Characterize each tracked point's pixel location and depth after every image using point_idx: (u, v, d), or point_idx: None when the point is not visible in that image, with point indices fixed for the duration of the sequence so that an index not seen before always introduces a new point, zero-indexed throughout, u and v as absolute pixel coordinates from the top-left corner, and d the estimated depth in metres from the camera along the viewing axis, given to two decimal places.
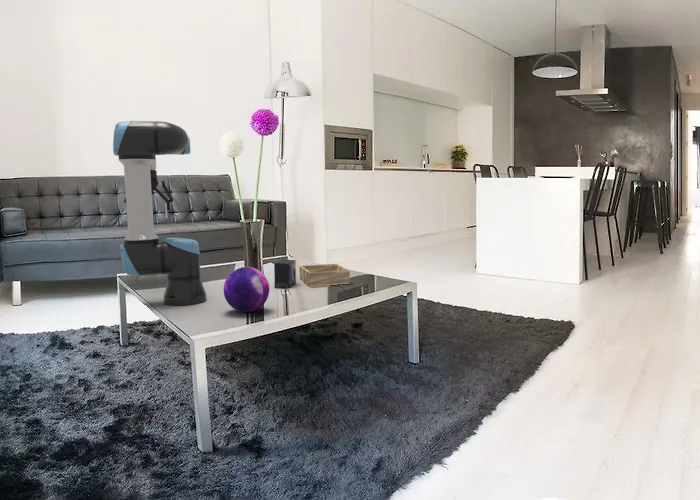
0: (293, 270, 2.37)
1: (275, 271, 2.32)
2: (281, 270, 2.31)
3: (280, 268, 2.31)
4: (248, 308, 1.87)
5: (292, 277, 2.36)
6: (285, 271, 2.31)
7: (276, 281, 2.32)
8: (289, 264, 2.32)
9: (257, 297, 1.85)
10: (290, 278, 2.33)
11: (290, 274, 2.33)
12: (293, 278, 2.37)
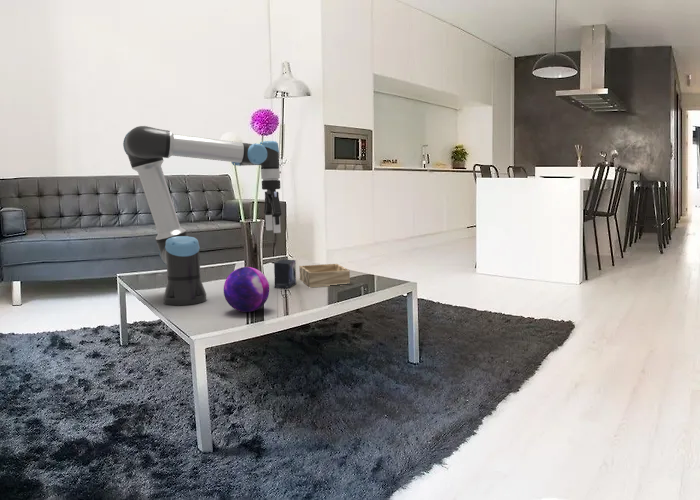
0: (293, 270, 2.37)
1: (275, 271, 2.32)
2: (281, 270, 2.31)
3: (280, 268, 2.31)
4: (248, 308, 1.87)
5: (292, 277, 2.36)
6: (285, 271, 2.31)
7: (276, 281, 2.32)
8: (289, 264, 2.32)
9: (257, 297, 1.85)
10: (290, 278, 2.33)
11: (290, 274, 2.33)
12: (293, 278, 2.37)
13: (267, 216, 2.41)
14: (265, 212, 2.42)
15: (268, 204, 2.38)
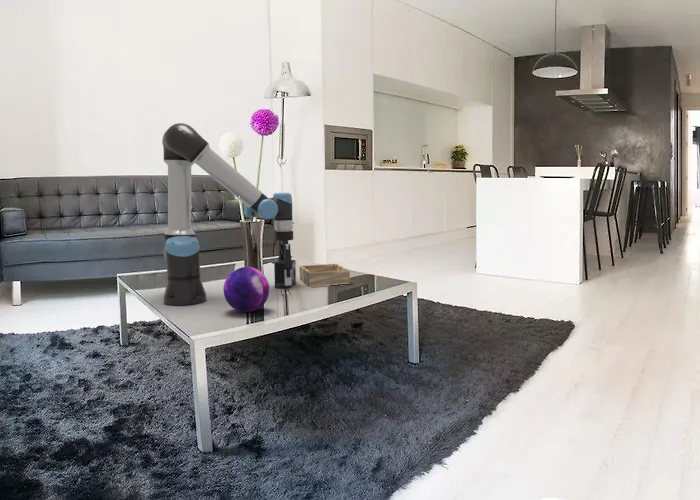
0: (293, 270, 2.37)
1: (275, 271, 2.32)
2: (281, 270, 2.31)
3: (280, 267, 2.31)
4: (248, 308, 1.87)
5: (292, 277, 2.36)
6: None
7: (276, 281, 2.32)
8: None
9: (257, 297, 1.85)
10: None
11: None
12: (293, 278, 2.37)
13: None
14: None
15: (281, 254, 2.39)
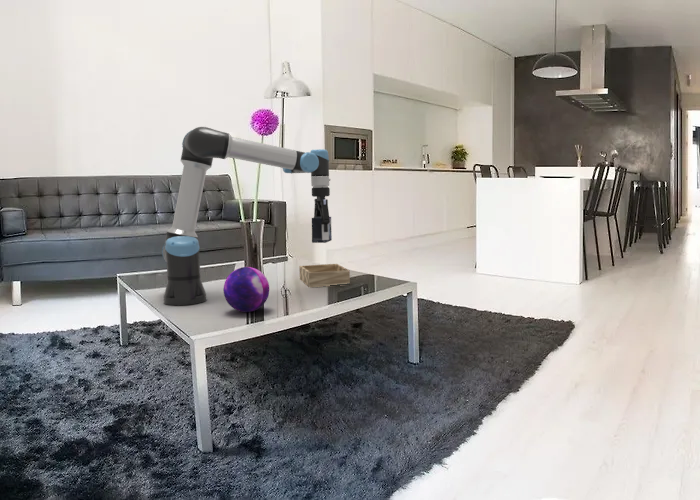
0: (329, 226, 2.42)
1: (312, 226, 2.37)
2: (319, 225, 2.36)
3: (317, 223, 2.36)
4: (248, 308, 1.87)
5: (329, 232, 2.41)
6: None
7: (313, 236, 2.37)
8: None
9: (257, 297, 1.85)
10: None
11: None
12: (329, 234, 2.42)
13: None
14: None
15: (318, 211, 2.44)
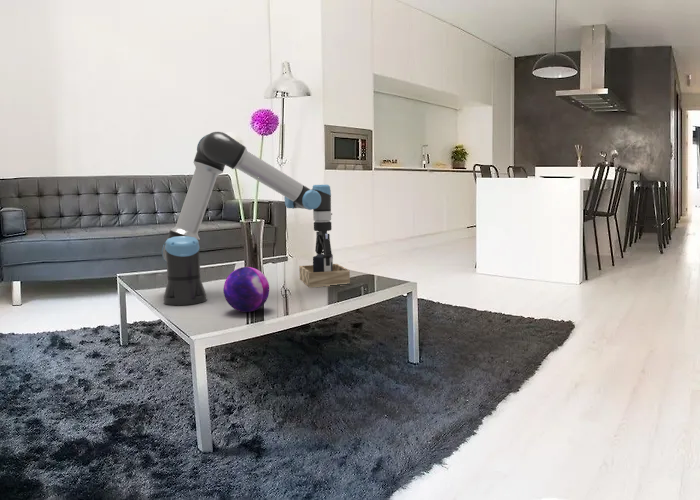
0: (331, 264, 2.44)
1: (314, 265, 2.39)
2: (320, 264, 2.39)
3: (318, 262, 2.39)
4: (248, 308, 1.87)
5: None
6: None
7: None
8: None
9: (257, 297, 1.85)
10: None
11: None
12: None
13: None
14: (316, 251, 2.50)
15: (319, 244, 2.46)
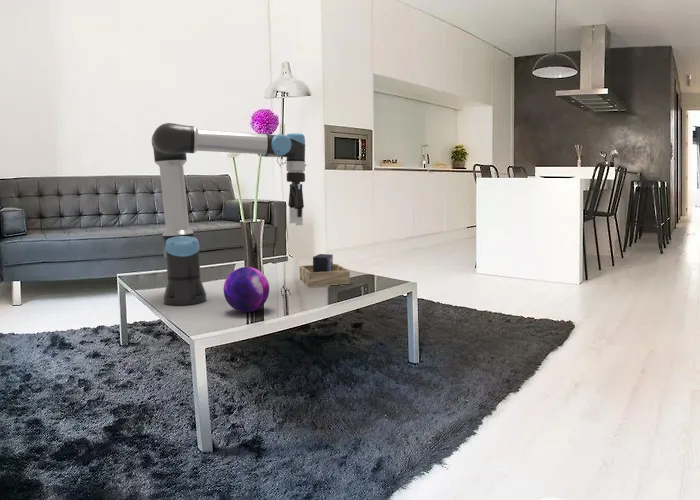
0: (331, 264, 2.44)
1: (314, 265, 2.39)
2: (320, 264, 2.39)
3: (318, 262, 2.39)
4: (248, 308, 1.87)
5: None
6: (324, 265, 2.38)
7: None
8: (327, 258, 2.39)
9: (257, 297, 1.85)
10: None
11: (328, 268, 2.40)
12: None
13: (291, 209, 2.41)
14: (289, 205, 2.42)
15: (292, 197, 2.38)
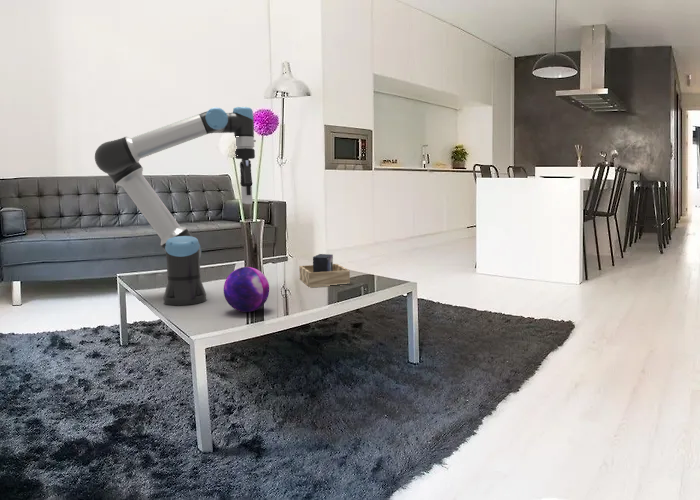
0: (331, 264, 2.44)
1: (314, 265, 2.39)
2: (320, 264, 2.39)
3: (318, 262, 2.39)
4: (248, 308, 1.87)
5: None
6: (324, 265, 2.38)
7: None
8: (327, 258, 2.39)
9: (257, 297, 1.85)
10: None
11: (328, 268, 2.40)
12: None
13: (243, 188, 2.29)
14: (241, 183, 2.30)
15: (243, 175, 2.26)
